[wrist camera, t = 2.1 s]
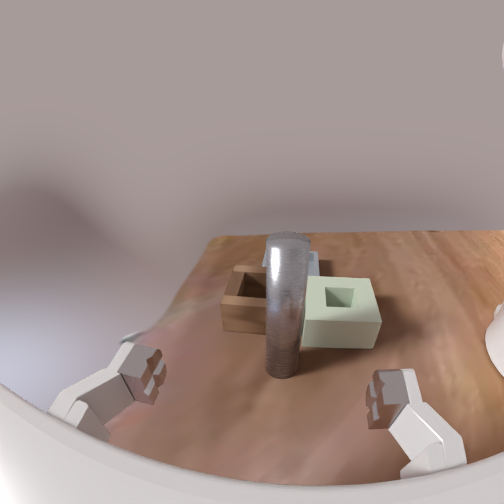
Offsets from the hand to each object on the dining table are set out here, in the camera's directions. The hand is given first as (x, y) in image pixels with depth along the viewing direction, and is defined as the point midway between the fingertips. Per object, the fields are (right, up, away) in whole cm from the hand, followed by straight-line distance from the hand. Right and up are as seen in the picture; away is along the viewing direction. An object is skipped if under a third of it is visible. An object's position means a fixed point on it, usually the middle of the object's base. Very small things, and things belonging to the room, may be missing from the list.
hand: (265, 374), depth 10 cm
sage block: (+9, -4, +23) cm, 25 cm away
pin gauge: (+2, -7, +18) cm, 19 cm away
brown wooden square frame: (+1, -3, +25) cm, 26 cm away
